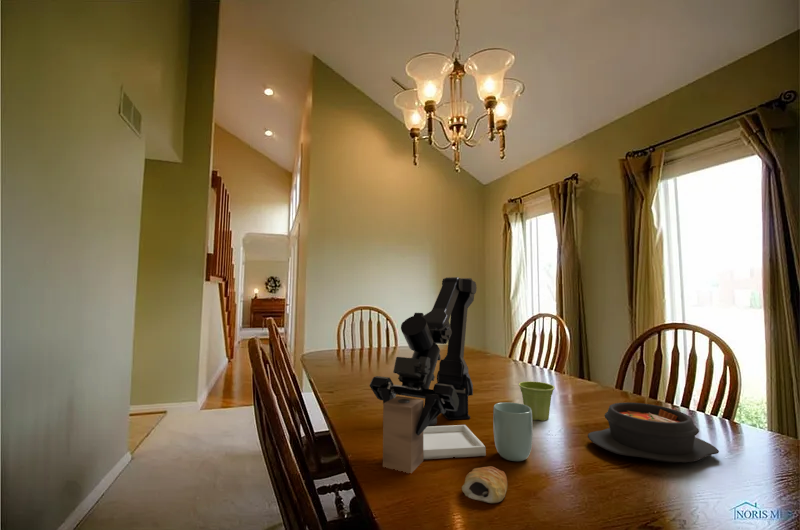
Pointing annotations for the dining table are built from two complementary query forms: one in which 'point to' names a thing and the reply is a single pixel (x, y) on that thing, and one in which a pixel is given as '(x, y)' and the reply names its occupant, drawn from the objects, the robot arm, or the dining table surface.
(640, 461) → the dining table surface
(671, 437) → the casserole
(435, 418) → the flashlight
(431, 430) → the tray
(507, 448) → the cup
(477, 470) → the pastry
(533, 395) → the plant pot
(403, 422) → the block
